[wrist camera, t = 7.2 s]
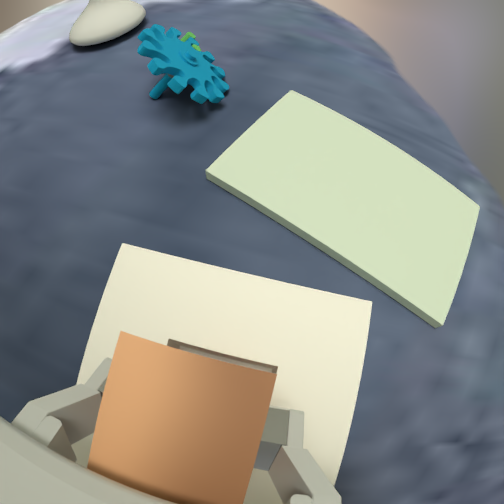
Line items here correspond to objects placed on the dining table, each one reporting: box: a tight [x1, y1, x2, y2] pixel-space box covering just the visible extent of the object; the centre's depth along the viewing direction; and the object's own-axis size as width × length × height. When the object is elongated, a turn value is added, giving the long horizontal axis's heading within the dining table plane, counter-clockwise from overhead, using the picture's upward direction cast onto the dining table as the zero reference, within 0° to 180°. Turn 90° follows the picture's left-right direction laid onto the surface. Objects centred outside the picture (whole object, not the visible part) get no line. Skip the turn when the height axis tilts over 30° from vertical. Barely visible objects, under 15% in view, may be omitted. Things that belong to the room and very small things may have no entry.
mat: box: [206, 90, 480, 328], centre depth 23 cm, size 20×12×1 cm, turn 55°
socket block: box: [71, 243, 372, 504], centre depth 16 cm, size 14×14×4 cm
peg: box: [87, 331, 277, 504], centre depth 12 cm, size 4×4×11 cm
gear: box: [138, 24, 229, 104], centre depth 26 cm, size 11×6×10 cm
